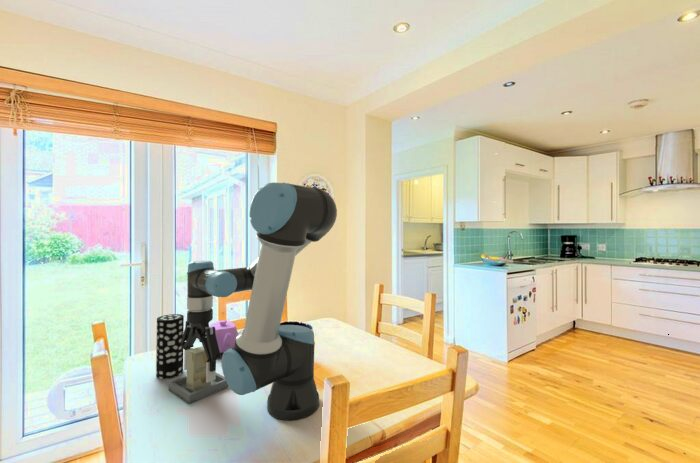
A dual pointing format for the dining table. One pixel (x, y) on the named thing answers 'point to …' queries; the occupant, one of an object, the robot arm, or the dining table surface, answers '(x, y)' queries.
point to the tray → (181, 391)
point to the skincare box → (196, 369)
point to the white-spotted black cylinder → (169, 346)
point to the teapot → (225, 334)
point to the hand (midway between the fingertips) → (199, 374)
